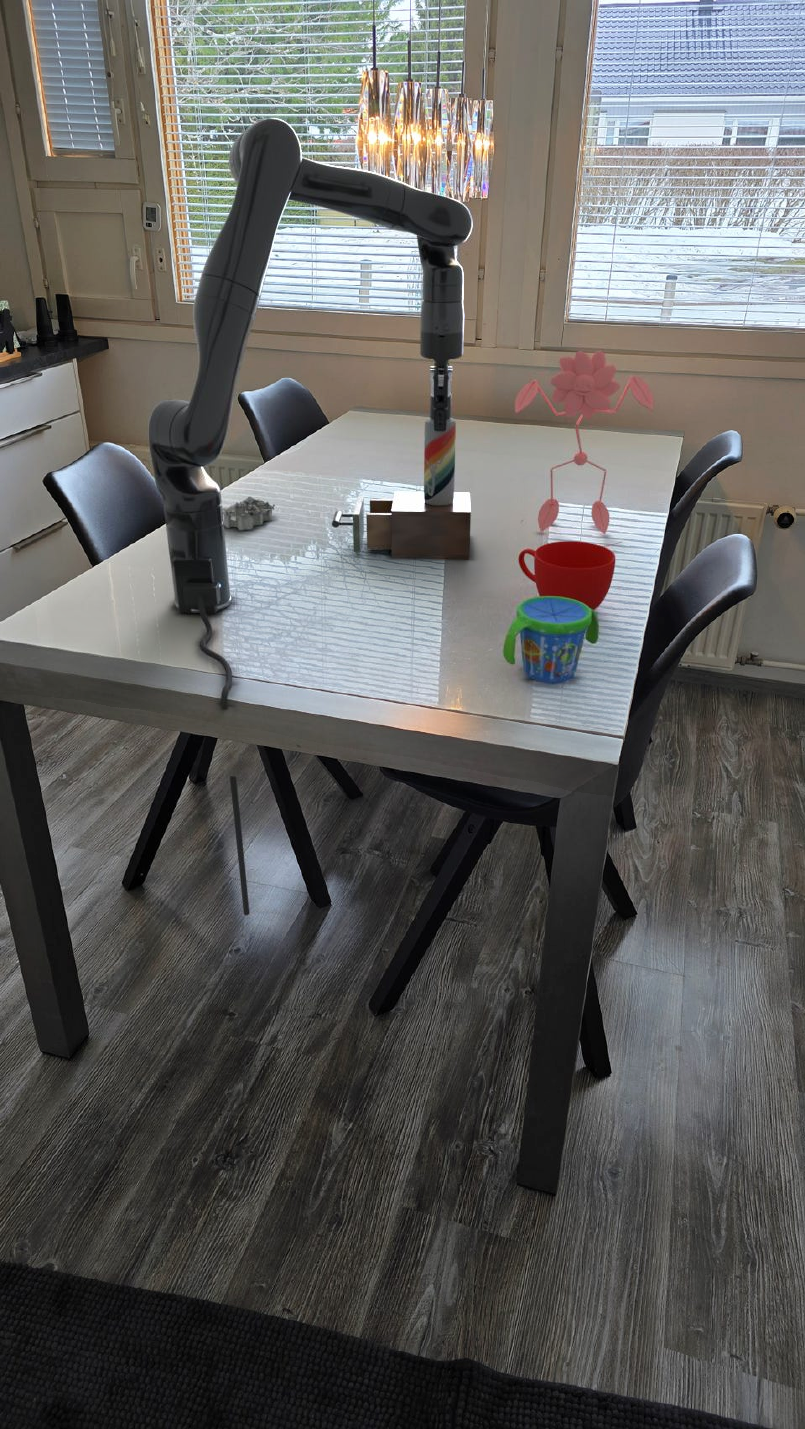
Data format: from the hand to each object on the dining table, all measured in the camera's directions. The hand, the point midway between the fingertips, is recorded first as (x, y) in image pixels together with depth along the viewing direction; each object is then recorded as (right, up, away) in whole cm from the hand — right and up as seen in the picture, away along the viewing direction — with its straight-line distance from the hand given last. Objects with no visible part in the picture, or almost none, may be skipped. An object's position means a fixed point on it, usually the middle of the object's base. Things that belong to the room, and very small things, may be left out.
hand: (440, 426), depth 182 cm
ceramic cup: (+19, -35, -15) cm, 42 cm away
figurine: (+27, -17, +17) cm, 36 cm away
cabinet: (-1, -20, +11) cm, 23 cm away
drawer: (-11, -19, +11) cm, 25 cm away
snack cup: (+15, -47, -35) cm, 60 cm away
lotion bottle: (0, -12, +7) cm, 14 cm away
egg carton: (-39, -13, +25) cm, 48 cm away
